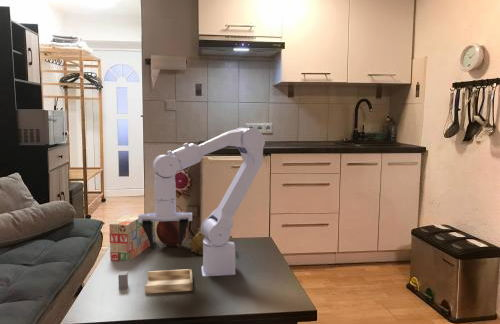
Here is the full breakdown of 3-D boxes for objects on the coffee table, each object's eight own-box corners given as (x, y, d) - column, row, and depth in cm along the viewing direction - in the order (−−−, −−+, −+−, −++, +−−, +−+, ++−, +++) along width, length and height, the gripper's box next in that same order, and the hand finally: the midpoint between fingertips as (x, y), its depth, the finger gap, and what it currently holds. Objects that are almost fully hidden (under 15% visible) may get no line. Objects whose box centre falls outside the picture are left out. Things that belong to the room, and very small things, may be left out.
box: (191, 277, 114) (191, 269, 114) (192, 292, 104) (192, 283, 104) (148, 280, 112) (148, 271, 112) (145, 295, 102) (144, 286, 102)
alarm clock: (189, 245, 143) (189, 204, 141) (184, 249, 138) (183, 207, 137) (161, 243, 145) (160, 202, 144) (155, 247, 141) (154, 205, 139)
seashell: (234, 258, 134) (237, 229, 133) (190, 257, 130) (193, 226, 130) (228, 249, 144) (231, 221, 144) (187, 247, 141) (190, 219, 140)
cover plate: (140, 284, 110) (140, 267, 110) (137, 295, 104) (137, 277, 103) (110, 286, 109) (109, 269, 109) (105, 297, 102) (104, 279, 102)
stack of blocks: (139, 241, 148) (138, 208, 147) (155, 242, 147) (155, 209, 146) (110, 261, 127) (108, 223, 126) (128, 262, 126) (127, 224, 125)
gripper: (191, 195, 116) (191, 241, 117) (139, 196, 113) (140, 243, 115) (192, 200, 109) (192, 248, 110) (136, 201, 106) (138, 251, 108)
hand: (166, 246), depth 112 cm, fingers open, 7 cm apart
